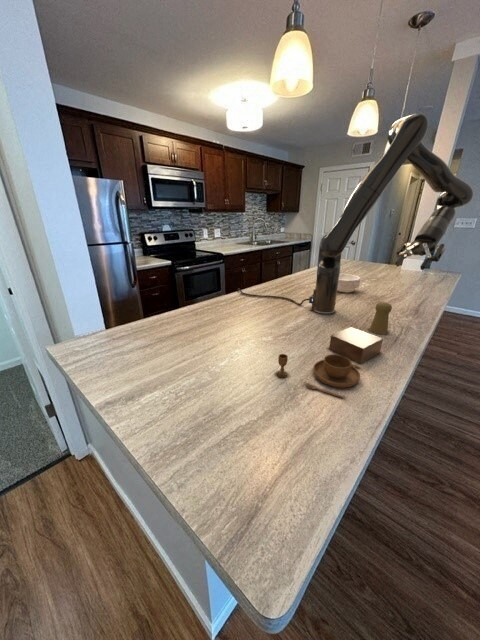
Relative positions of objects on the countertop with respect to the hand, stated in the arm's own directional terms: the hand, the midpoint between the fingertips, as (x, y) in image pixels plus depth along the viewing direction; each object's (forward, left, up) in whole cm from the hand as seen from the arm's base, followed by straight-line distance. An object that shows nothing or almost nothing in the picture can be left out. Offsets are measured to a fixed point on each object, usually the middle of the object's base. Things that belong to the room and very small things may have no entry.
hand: (408, 266), depth 95 cm
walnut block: (-8, -32, -23) cm, 40 cm away
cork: (-4, -11, -23) cm, 26 cm away
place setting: (-13, -50, -23) cm, 56 cm away
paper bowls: (-29, +38, -23) cm, 53 cm away
